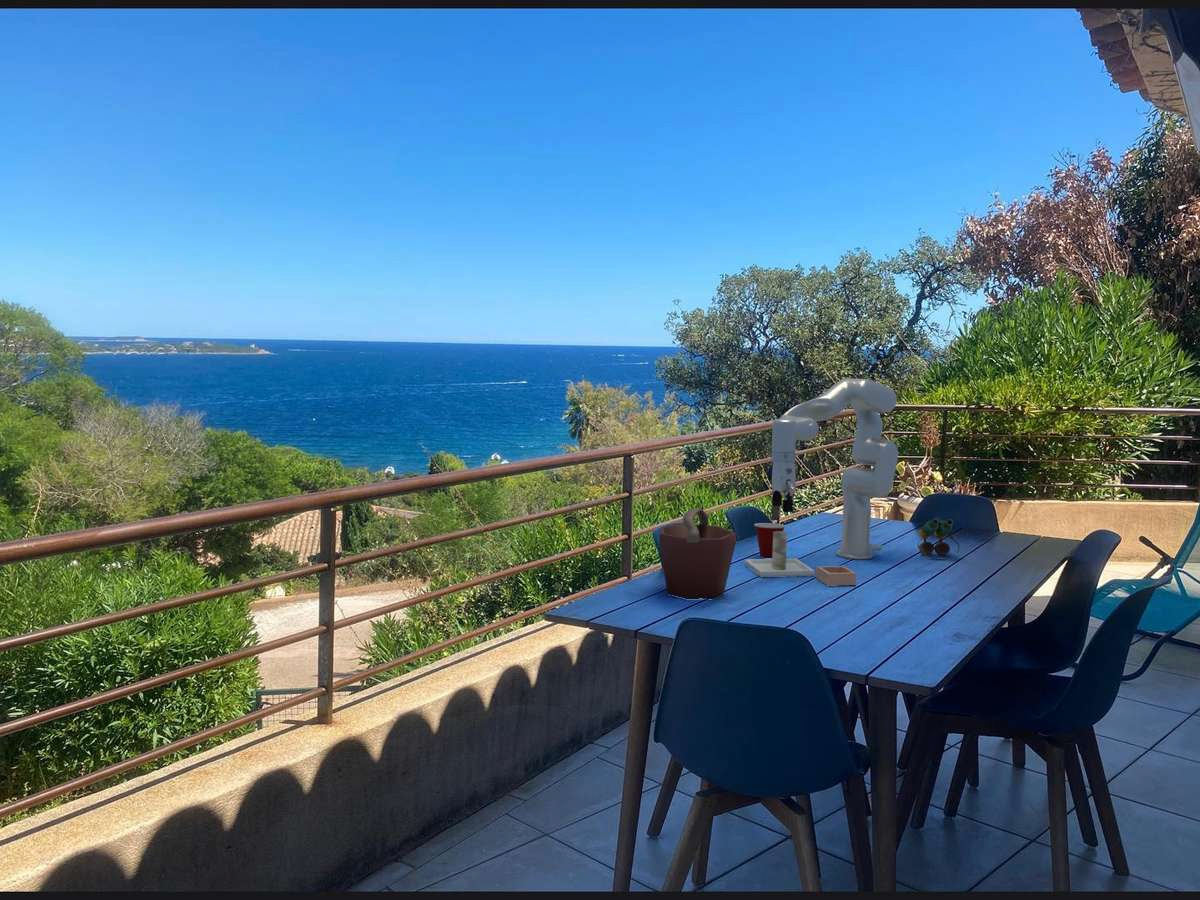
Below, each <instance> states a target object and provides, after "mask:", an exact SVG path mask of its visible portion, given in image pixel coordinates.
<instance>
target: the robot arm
mask: <svg viewBox="0 0 1200 900" xmlns="http://www.w3.org/2000/svg"><path fill="white" fill-rule="evenodd" d="M897 400H898V397H897V394H896V392H895V391H894V390H893V389H892V388H891V387H889V386H886V385H884V384H881V383H879V382H876V381H874V380H871V379H867V378H852V377H851V378H847V377H846V378H842V379H840V380H838V381H837V382H836V383H835V384H833V385H832V386H831V387H829V388H828V389H827V390H826V391H825V392H823V393H822V394H821V395H819V396H818V397H816V398H812V399H810V400H807V401H804V402H802V403H800V404H797V405H795V406H793V407H791V408H790V409H788V410H787V411H786V412H784V414H782V415H781V416H780V417H779V418H776V419H774V420H773V422H772V426H771V427H772V429H771V430H772V431H771V432H772V433H771V435H772V436H771V462H772V470H771V471H772V472H771V488H772V490H771V495H772V496H771V507H781V506H782V512H783V513H793V510H794V508H793V507H794V496H795V492H796V491H797V487H796V486H797V483H796V482H797V480H796V478H797V476H796V465H795V462H796V449H797V447H796V445H797V444H796V442H797V441H806V442H807V441H811V440H814V439H815V438H816V437H817V436H818V434H819V431H820V430H819V429H820V428H819V427H820V426H819V424H818V423H817V422H820V421H826V420H830V419H832V418H836V416H838V415H839V414H840V413H842V412H843V410H845V409H846V408H847V407H849V406H851V408H852V410H853V411H854V414H855V416H856V421H857V425H856V426H857V427H856V431H855V435H854V440H853V446H852V450H851V456H852V459H853V461H854V462H855V463H858V464H862V465H866V466H867V465H868V466H873V467H874V466H875V469H871V468H865V467H858V466H856V467H855V466H854V467H853V466H852V467H849V468H847V469H845V470H844V471H843V473H842V476H841V480H840V481H841V489H842V497H843V499H842V500H843V501H842V502H843V503H842V505H843V508H842V523H841V524H842V526H841V545H840V546H841V547H840V548H838V549H837V550H836V552H835V553H836V555H837V556H839V557H841V558H845V559H852V560H869V559H872V558H873V557H874V553H873V552H874V551H878V552H880V551H883V545H881V544H879V545H878V544H877V545H876V544H873V543H870V539H871V538H870V536H871V521H872V520H871V518H872V505H871V501H870V498H877V499H883V498H886V497H887V496H888V495H889V494H890V492H891V489H892V487H893V481H894V479H895V474H896V469H897V464H898V459H899V452H898V447H897V444H895V442H894V441H892V440H889V439H883V438H882V432H883V427H884V425H883V421H882V418H881V416H880V415H879V413H889V412H891V411H893V410H894V409H895V407H896V405H897V402H898V401H897ZM869 497H870V498H869Z"/></svg>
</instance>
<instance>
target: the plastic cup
mask: <svg viewBox="0 0 1200 900" xmlns="http://www.w3.org/2000/svg"><path fill="white" fill-rule="evenodd" d="M754 528H755V531H756V536H757V537H756V538H757V545H758V550H759V557H760V556H761V557H764V558H772V555H773V532H775V531H783V532H784V529H785V528H786V525H785V524H781V523H772V522H771V523H770V522H767V523H766V522H759V523H754ZM761 557H760V558H761Z"/></svg>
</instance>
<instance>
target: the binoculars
mask: <svg viewBox="0 0 1200 900" xmlns="http://www.w3.org/2000/svg"><path fill="white" fill-rule="evenodd" d="M953 524H954V520H953V519H951V518H949V519H946V520H942V519H941V518H939V517H935V518H932V520H928V521H927V522H926V523H925V524H923V526H922V527H921V529H920V530H919V531H918V535H919V537H920V539H919V540H918V542H917V548H918V550H919V552H920V553H921V554H922V555H923V556H925V557H927V558H929V559H931V560H936V561H946V560H951V559H952V558H954V557H956V555H958V553H959V551H960V543H959V542H958V541H957V540H956V539H955V538H954V535H953V534H952V531H951V530H952V529H953ZM933 535H934V537H935V538H936V539H937V540H939V543H938V542H937V543H936V544H934V543H932V542H931V541H927V539H929V538H930V536H933ZM947 536H948V537H949V539H950V540H952V541H954V543H956V544H957V546H958V550H957V551H956V553H955V554H954V555H953V556H951V557H948V558H935V557H932V556H930V555H931V554H932V553H934V552H935V554H937V556H940V557H944V556H946V555H948V554H949V553H950V551H951V546H950V545H949V544H948V543H947V542H944V541H943V539H945V538H946V537H947ZM921 540H923V542H922V543H920V541H921ZM942 541H943V542H942Z"/></svg>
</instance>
